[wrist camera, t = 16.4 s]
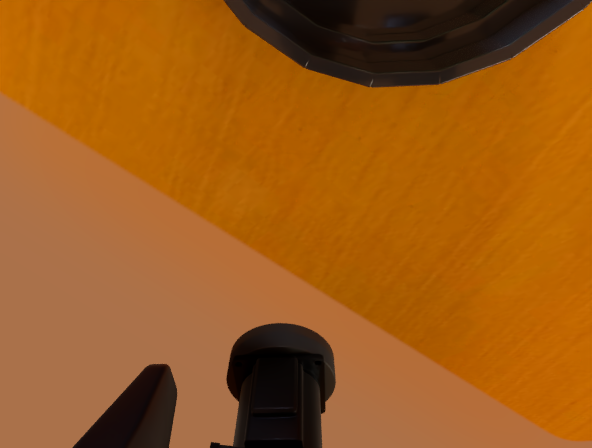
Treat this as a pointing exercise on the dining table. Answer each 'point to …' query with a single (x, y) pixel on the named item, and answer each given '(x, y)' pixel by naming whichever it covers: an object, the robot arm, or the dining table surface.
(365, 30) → the pan
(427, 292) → the dining table surface
